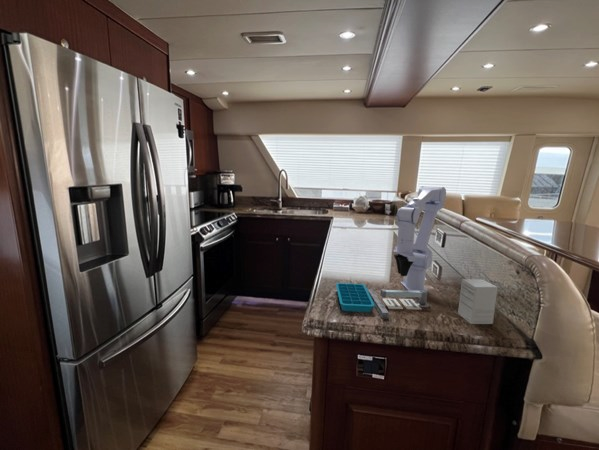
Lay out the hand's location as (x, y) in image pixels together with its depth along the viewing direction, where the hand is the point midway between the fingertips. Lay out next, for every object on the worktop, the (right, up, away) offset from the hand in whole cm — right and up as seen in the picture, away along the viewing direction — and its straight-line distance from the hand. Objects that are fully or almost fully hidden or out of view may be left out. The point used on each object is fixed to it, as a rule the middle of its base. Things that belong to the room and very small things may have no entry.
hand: (402, 274), depth 106 cm
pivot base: (+6, -10, -4) cm, 12 cm away
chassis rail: (-11, -10, -5) cm, 16 cm away
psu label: (-5, -10, -4) cm, 12 cm away
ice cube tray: (-19, -10, -1) cm, 21 cm away
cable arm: (-1, -10, -4) cm, 10 cm away
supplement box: (+19, -13, -13) cm, 26 cm away
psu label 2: (+1, -10, -4) cm, 11 cm away
